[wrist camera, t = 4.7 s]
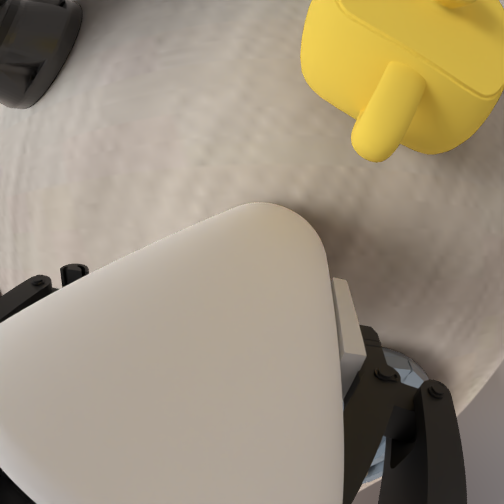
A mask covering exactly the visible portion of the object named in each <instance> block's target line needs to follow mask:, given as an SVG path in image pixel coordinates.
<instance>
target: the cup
mask: <svg viewBox="0 0 504 504" xmlns="http://www.w3.org/2000/svg"><path fill="white" fill-rule="evenodd" d="M0 468H1V469H2V470H3V471H4V472H5V473H6V474H7V475H8V477H9V478H10V479H11V480H12V481H13V482H14V483H15V484H16V485H17V486H18V487H19V488H20V489H21V490H22V491H23V492H24V493H25V494H26V495H28V496H29V497H30V498H31V499H32V500H33V501H34V502H35V503H36V504H343V483H344V424H343V400H342V383H341V370H340V358H339V347H338V337H337V328H336V319H335V311H334V303H333V296H332V289H331V282H330V275H329V269H328V262H327V257H326V252H325V249H324V246H323V244H322V241H321V239H320V237H319V236H318V234H317V233H316V231H315V230H314V228H313V227H312V226H311V225H310V224H309V223H308V222H307V221H306V220H305V219H304V218H303V217H301V216H300V215H299V214H297V213H295V212H294V211H292V210H290V209H288V208H286V207H283V206H280V205H276V204H272V203H263V202H256V203H248V204H243V205H240V206H237V207H234V208H232V209H230V210H227V211H225V212H222V213H220V214H218V215H215V216H213V217H210V218H208V219H206V220H203V221H201V222H199V223H196V224H194V225H192V226H190V227H187V228H185V229H183V230H180V231H178V232H176V233H174V234H171V235H169V236H167V237H165V238H163V239H160V240H158V241H156V242H154V243H152V244H150V245H147V246H145V247H143V248H141V249H139V250H137V251H135V252H133V253H130V254H128V255H126V256H124V257H122V258H120V259H118V260H116V261H114V262H112V263H110V264H108V265H106V266H104V267H102V268H100V269H98V270H96V271H94V272H92V273H90V274H88V275H86V276H84V277H82V278H80V279H78V280H76V281H74V282H72V283H70V284H69V285H67V286H65V287H63V288H61V289H59V290H57V291H55V292H54V293H52V294H50V295H48V296H46V297H44V298H43V299H41V300H39V301H37V302H35V303H34V304H32V305H30V306H28V307H27V308H25V309H23V310H21V311H20V312H18V313H16V314H15V315H13V316H11V317H10V318H8V319H6V320H5V321H3V322H1V323H0Z"/></svg>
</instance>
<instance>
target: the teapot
mask: <svg viewBox="0 0 504 504" xmlns="http://www.w3.org/2000/svg"><path fill="white" fill-rule="evenodd" d="M300 59H301V67H302V73H303V76H304V78H305V80H306V82H307V83H308V85H309V86H310V88H311V89H312V90H313V91H314V92H316V93H317V94H318V95H319V96H320V97H321V98H323V99H324V100H326V101H327V102H329V103H330V104H332V105H333V106H335V107H336V108H338V109H339V110H341V111H343V112H344V113H346V114H348V115H349V116H351V117H352V118H354V119H356V123H355V125H354V128H353V130H352V134H351V141H352V145H353V148H354V150H355V151H356V152H357V153H358V154H359V155H360V156H361V157H362V158H364V159H366V160H368V161H372V162H382V161H384V160H386V159H387V158H389V157H390V156H391V155H392V154H393V153H394V151H395V150H396V149H397V147H398V146H399V144H402V145H404V146H406V147H408V148H410V149H412V150H414V151H417V152H421V153H424V154H439V153H443V152H447V151H449V150H451V149H453V148H455V147H457V146H458V145H460V144H461V143H463V142H464V141H466V140H467V139H469V138H470V137H471V136H472V135H473V134H474V133H475V132H476V131H477V130H478V129H479V127H480V126H481V125H482V124H483V123H484V121H485V120H486V119H487V117H488V116H489V114H490V113H491V111H492V110H493V108H494V106H495V105H496V103H497V101H498V100H499V98H500V96H501V94H502V92H503V90H504V9H503V7H502V5H501V3H500V2H499V0H312V1H311V4H310V6H309V9H308V13H307V16H306V20H305V25H304V29H303V35H302V42H301V54H300Z"/></svg>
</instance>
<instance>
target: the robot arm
mask: <svg viewBox="0 0 504 504" xmlns="http://www.w3.org/2000/svg"><path fill="white" fill-rule="evenodd" d="M81 19H82V9H81V6H80V5H79V4H77V3H75V2H73V1H71V0H0V103H1V104H3V105H5V106H7V107H9V108H18V109H25V108H28V107H30V106H32V105H33V104H34V103H35V102H36V101H37V100H38V99H39V98H40V97H41V96H42V95H43V94H44V93H45V91H46V90H47V89H48V87H49V86H50V85H51V83H52V82H53V80H54V79H55V77H56V75H57V74H58V72H59V70H60V69H61V67H62V65H63V64H64V62H65V60H66V58H67V56H68V54H69V52H70V50H71V48H72V46H73V44H74V41H75V39H76V36H77V34H78V31H79V28H80V24H81ZM60 272H61V280H62V288H63V287H65V286H67V285H69V284H70V283H72V282H74V281H76V280H78V279H80V278H82V277H84V276H86V275H88V274H89V269H88V267H87V266H85V265H82V264H68V265H65V266H63V267H61V268H60ZM331 289H332V296H333V303H334V311H335V319H336V328H337V337H338V347H339V358H340V370H341V383H342V400H343V402H344V411H343V424H344V483H343V504H351V503H352V502H353V500H354V498H355V496H356V494H357V492H358V491H359V489H360V487H361V485H362V483H363V481H364V479H365V477H366V475H367V473H368V470H369V468H370V466H371V464H372V462H373V459H374V457H375V455H376V453H377V450H378V448H379V445H380V443H381V440H382V438H383V436H385V437H386V444H385V456H384V466H383V474H382V482H381V489H380V495H379V501H378V504H467V493H466V492H467V491H466V477H465V467H464V459H463V452H462V445H461V439H460V433H459V429H458V423H457V418H456V413H455V409H454V405H453V401H452V397H451V393H450V391H449V389H448V388H447V387H446V386H445V385H444V384H443V383H441V382H439V381H435V380H426V381H424V382H423V383H422V384H421V386H420V387H419V389H418V388H415V387H412V386H409V385H406V384H404V383H402V382H401V377H400V375H399V373H398V372H397V371H396V370H395V369H394V368H393V367H391V366H389V365H387V362H386V359H385V356H384V352H383V349H382V348H381V347H382V346H381V343H380V340H379V337H378V334H377V333H376V332H375V331H374V330H373V328H372V327H369V326H363V325H359V322H358V319H357V315H356V311H355V308H354V304H353V300H352V297H351V293H350V290H349V287H348V283H347V280H344V279H339V278H334V277H333V279H332V283H331ZM57 290H59V289H56V288H52V283H51V279H50V277H48V276H44V275H36V276H34V277H31V278H29V279H28V280H26V281H24V282H23V283H21V284H20V285H18V286H16V287H15V288H13V289H12V290H10V291H9V292H7V293H6V294H4V295H3V296H1V297H0V323H1V322H3V321H5V320H6V319H8V318H10V317H11V316H13V315H15V314H16V313H18V312H20V311H21V310H23V309H25V308H27V307H28V306H30V305H32V304H34V303H35V302H37V301H39V300H41V299H43V298H44V297H46V296H48V295H50V294H52V293H54V292H55V291H57ZM0 504H36V503H35V502H34V501H33V500H32V499H31V498H30V497H29V496H28V495H26V494H25V493H24V492H23V491H22V490H21V489H20V488H19V487H18V486H17V485H16V484H15V483H14V482H13V481H12V480H11V479H10V478H9V477H8V475H7V474H6V473H5V472H4V471H3V470H2V469H1V468H0Z"/></svg>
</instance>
